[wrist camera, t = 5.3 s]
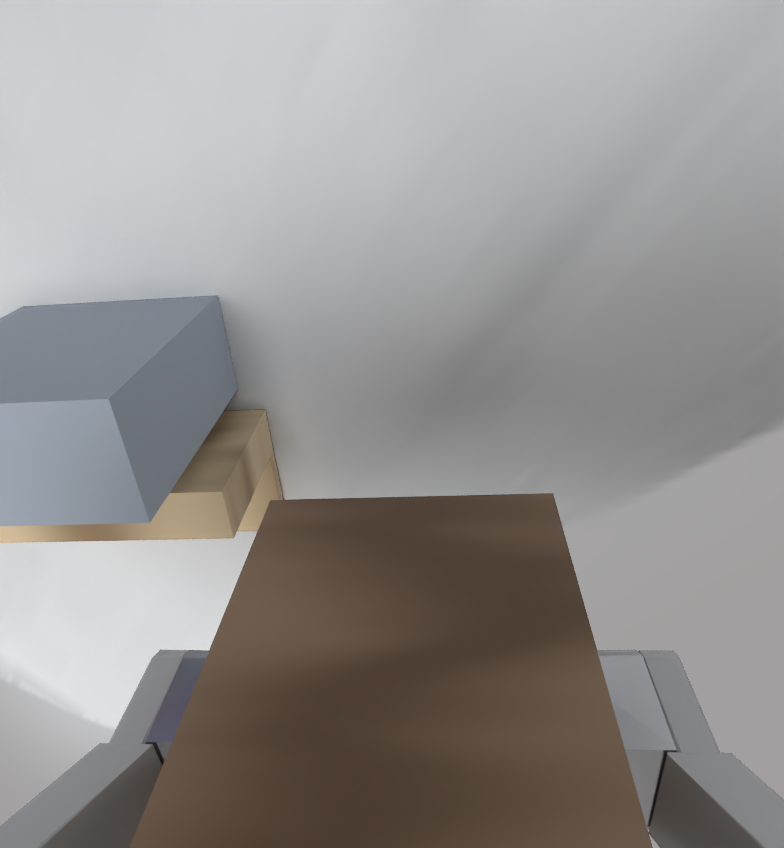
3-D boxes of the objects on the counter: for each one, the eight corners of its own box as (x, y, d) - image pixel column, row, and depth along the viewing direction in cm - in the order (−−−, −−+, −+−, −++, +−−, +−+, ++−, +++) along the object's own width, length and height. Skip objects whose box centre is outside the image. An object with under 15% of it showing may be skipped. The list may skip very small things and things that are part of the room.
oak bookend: (265, 409, 26) (222, 491, 20) (287, 522, 29) (254, 619, 23) (42, 418, 27) (-54, 499, 21) (86, 526, 29) (10, 621, 24)
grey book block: (217, 295, 23) (108, 399, 16) (238, 388, 25) (149, 523, 17) (23, 306, 24) (-175, 410, 16) (57, 396, 26) (-105, 528, 18)
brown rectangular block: (552, 493, 10) (688, 975, 5) (543, 653, 12) (630, 1131, 7) (270, 500, 11) (89, 945, 5) (302, 653, 13) (196, 1100, 7)
